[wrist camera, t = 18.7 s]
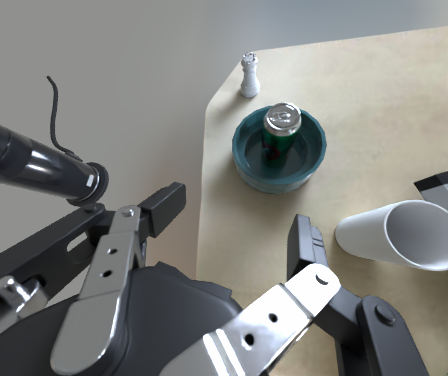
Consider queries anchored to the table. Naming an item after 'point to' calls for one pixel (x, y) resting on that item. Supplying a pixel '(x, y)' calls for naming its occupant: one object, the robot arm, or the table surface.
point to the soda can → (279, 134)
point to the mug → (399, 235)
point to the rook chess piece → (249, 76)
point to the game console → (435, 189)
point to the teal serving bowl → (297, 160)
